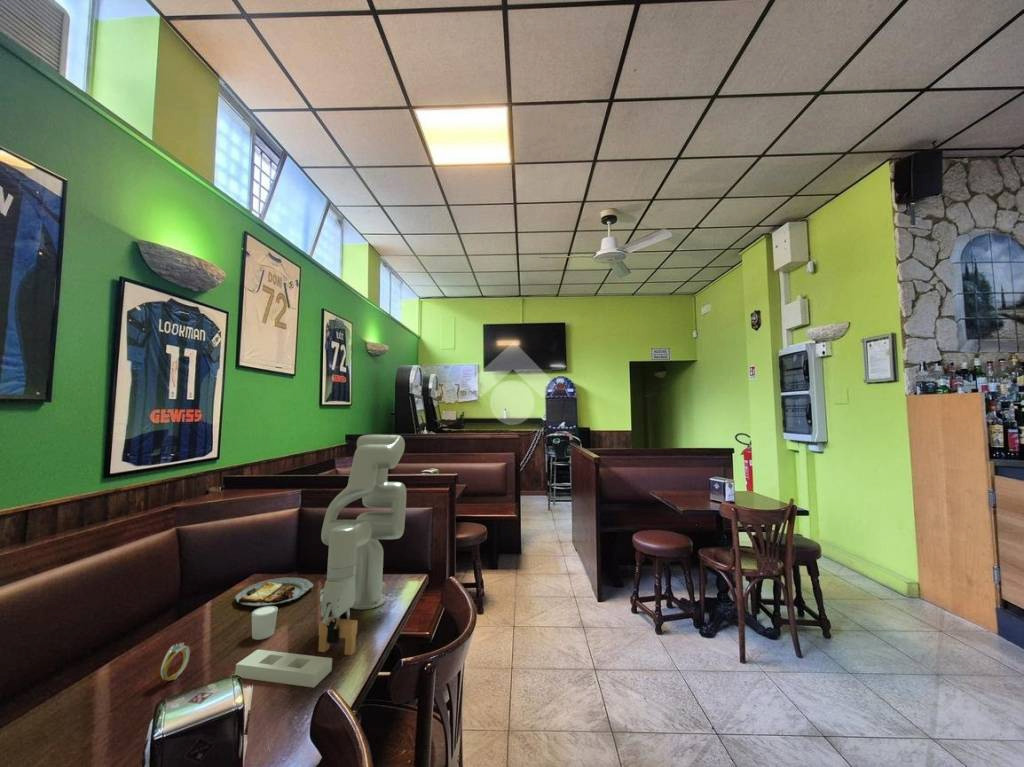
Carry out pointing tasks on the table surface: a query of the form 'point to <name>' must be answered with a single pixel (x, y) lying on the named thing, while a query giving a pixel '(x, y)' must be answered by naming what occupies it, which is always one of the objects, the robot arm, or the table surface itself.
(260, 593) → the food plate
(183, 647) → the bracelet
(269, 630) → the white tapered cylinder
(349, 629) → the staple clip
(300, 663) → the slotted rail
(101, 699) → the table surface
